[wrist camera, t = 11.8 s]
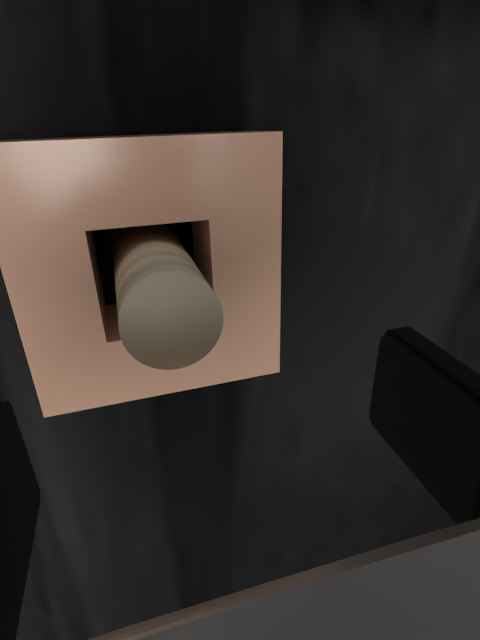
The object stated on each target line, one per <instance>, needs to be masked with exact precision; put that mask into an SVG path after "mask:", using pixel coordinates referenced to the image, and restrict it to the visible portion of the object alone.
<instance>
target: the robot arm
mask: <svg viewBox="0 0 480 640" xmlns="http://www.w3.org/2000/svg"><path fill="white" fill-rule="evenodd" d="M369 416H370V421H371V423H372V425H373V427H374V428H375V429H376V430H377V432H378V433H379V434H380V435H381V436H382V437H383V439H384V440H385V441H386V442H387V443H388V444H389V446H390V447H391V448H392V449H393V450H394V451H395V453H396V454H397V455H398V456H399V457H400V458H401V460H402V461H403V462H404V463H405V464H406V465H407V467H408V468H409V469H410V470H411V471H412V473H413V474H414V475H415V476H416V477H417V478H418V480H419V481H420V482H421V483H422V484H423V485H424V487H425V488H426V489H427V490H428V491H429V492H430V494H431V495H432V496H433V497H434V498H435V499H436V501H437V502H438V503H439V504H440V505H441V506H442V508H443V509H444V510H445V511H446V512H447V513H448V515H449V516H450V517H451V518H452V519H453V520H454V521H455V522H456V523H457V525H454V526H451V527H447V528H444V529H441V530H437V531H434V532H431V533H428V534H424V535H421V536H418V537H414V538H411V539H408V540H404V541H401V542H398V543H394V544H391V545H388V546H385V547H381V548H378V549H375V550H372V551H368V552H365V553H362V554H359V555H355V556H352V557H349V558H346V559H342V560H339V561H336V562H333V563H329V564H326V565H323V566H320V567H316V568H313V569H310V570H307V571H303V572H300V573H297V574H294V575H290V576H287V577H284V578H281V579H278V580H274V581H271V582H268V583H265V584H261V585H258V586H255V587H252V588H249V589H245V590H242V591H239V592H236V593H233V594H229V595H226V596H223V597H220V598H217V599H214V600H210V601H207V602H204V603H201V604H198V605H194V606H191V607H188V608H185V609H182V610H179V611H175V612H172V613H169V614H166V615H163V616H159V617H156V618H153V619H150V620H147V621H144V622H140V623H137V624H134V625H131V626H128V627H125V628H122V629H119V630H115V631H112V632H109V633H106V634H103V635H100V636H97V637H94V638H91V639H88V640H480V375H478V374H477V373H476V372H474V371H473V370H471V369H470V368H468V367H467V366H466V365H464V364H463V363H461V362H460V361H458V360H457V359H455V358H454V357H453V356H451V355H450V354H448V353H447V352H445V351H444V350H443V349H441V348H440V347H438V346H437V345H435V344H434V343H432V342H431V341H430V340H428V339H427V338H425V337H424V336H422V335H421V334H420V333H418V332H417V331H415V330H414V329H412V328H410V327H402V328H396V329H390V330H388V331H386V333H385V335H384V336H383V337H381V339H380V343H379V350H378V357H377V364H376V371H375V378H374V385H373V392H372V399H371V406H370V413H369ZM39 506H40V490H39V485H38V482H37V479H36V476H35V473H34V471H33V468H32V465H31V462H30V459H29V456H28V453H27V450H26V447H25V444H24V441H23V438H22V435H21V432H20V429H19V426H18V423H17V420H16V417H15V414H14V411H13V408H12V405H11V403H10V402H9V401H3V402H2V401H1V399H0V640H15V639H16V634H17V628H18V622H19V617H20V611H21V606H22V600H23V595H24V589H25V583H26V578H27V572H28V567H29V561H30V556H31V550H32V545H33V539H34V533H35V528H36V522H37V517H38V511H39Z"/></svg>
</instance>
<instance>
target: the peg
mask: <svg viewBox="0 0 480 640" xmlns="http://www.w3.org/2000/svg"><path fill="white" fill-rule="evenodd" d="M113 262H114V275H115V288H116V301H117V314H118V327H119V334H120V338H121V341H122V343H123V345H124V347H125V349H126V350H127V351H128V353H129V354H130V355H131V356H132V357H133V358H134V359H136V360H137V361H139V362H140V363H142V364H144V365H146V366H149V367H151V368H155V369H161V370H174V369H180V368H184V367H187V366H190V365H192V364H194V363H196V362H198V361H199V360H201V359H202V358H204V357H205V356H206V355H207V354H208V353H209V352H210V351H211V350H212V349H213V347H214V346H215V345H216V343H217V341H218V340H219V337H220V335H221V332H222V328H223V310H222V306H221V303H220V301H219V299H218V297H217V296H216V294H215V293H214V291H213V290H212V288H211V287H210V285H209V284H208V282H207V281H206V279H205V278H204V276H203V275H202V274H201V272H200V271H199V269H198V268H197V266H196V265H195V263H194V262H193V260H192V259H191V257H190V256H189V254H188V253H187V251H186V250H185V248H184V247H183V246H182V244H181V243H180V241H179V240H178V238H177V237H176V235H175V234H174V233H173V232H172V231H171V230H170V229H169V228H167V227H166V226H164V225H162V224H157V225H146V226H135V227H126V228H125V229H124V230H123V231H122V232H121V233H120V234H119V236H118V237H117V239H116V241H115V244H114V248H113Z"/></svg>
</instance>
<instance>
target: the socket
mask: <svg viewBox="0 0 480 640" xmlns="http://www.w3.org/2000/svg"><path fill="white" fill-rule="evenodd" d="M282 150H283V131H226V132H199V133H173V134H147V135H120V136H94V137H67V138H41V139H14V140H0V268H1V271H2V275H3V278H4V281H5V285H6V288H7V292H8V295H9V299H10V302H11V305H12V309H13V312H14V316H15V319H16V323H17V326H18V330H19V333H20V336H21V340H22V343H23V347H24V350H25V354H26V357H27V361H28V364H29V367H30V371H31V374H32V378H33V381H34V385H35V388H36V392H37V395H38V398H39V402H40V405H41V409H42V412H43V416H44V417H50V416H55V415H60V414H65V413H70V412H75V411H81V410H86V409H91V408H96V407H101V406H106V405H112V404H117V403H122V402H127V401H132V400H137V399H143V398H148V397H153V396H158V395H163V394H168V393H174V392H179V391H184V390H189V389H194V388H199V387H205V386H210V385H215V384H220V383H225V382H230V381H236V380H241V379H246V378H251V377H256V376H261V375H267V374H272V373H277V372H280V302H281V226H282ZM189 221H191V225H192V237H193V250H194V262H195V265H196V266H197V268H198V269H199V271H200V272H201V274H202V275H203V276H204V278H205V279H206V281H207V282H208V284H209V285H210V287H211V288H212V290H213V291H214V293H215V294H216V296H217V297H218V299H219V301H220V303H221V306H222V310H223V328H222V332H221V335H220V337H219V340H218V341H217V343H216V345H215V346H214V347H213V349H212V350H211V351H210V352H209V353H208V354H207V355H206V356H205V357H204V358H202V359H201V360H199V361H198V362H196V363H194V364H192V365H190V366H187V367H184V368H180V369H174V370H161V369H155V368H151V367H149V366H146V365H144V364H142V363H140V362H139V361H137V360H136V359H134V358H133V357H132V356H131V355H130V354H129V353H128V351H127V350H126V349H125V347H124V345H123V343H122V341H121V338H120V334H119V327H118V314H117V304H112V305H106V304H105V298H104V293H103V287H102V282H101V276H100V271H99V266H98V260H97V255H96V249H95V244H94V238H93V233H92V230H102V229H113V228H124V227H135V226H146V225H157V224H167V223H178V222H189Z"/></svg>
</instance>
